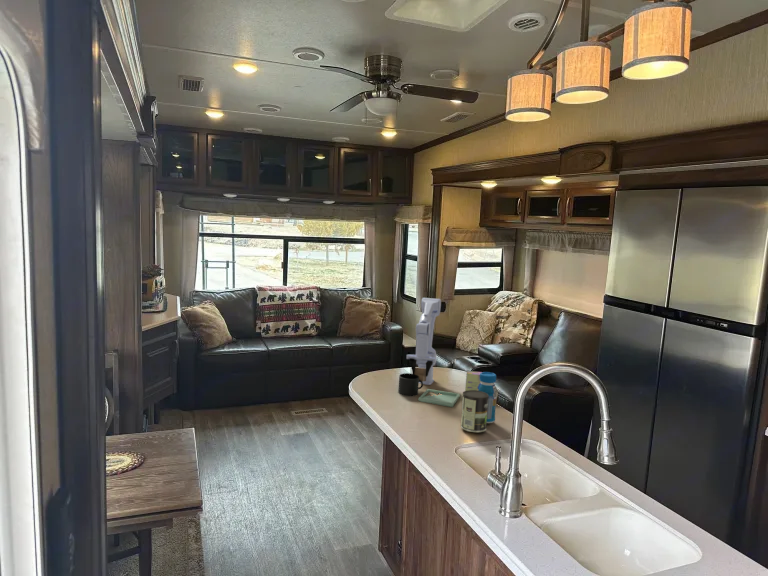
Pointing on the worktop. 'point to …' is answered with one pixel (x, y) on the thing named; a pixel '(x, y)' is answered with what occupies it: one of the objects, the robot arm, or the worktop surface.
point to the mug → (409, 384)
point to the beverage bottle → (489, 393)
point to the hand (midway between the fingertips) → (420, 375)
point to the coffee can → (474, 411)
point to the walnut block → (421, 373)
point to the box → (472, 380)
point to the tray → (440, 398)
